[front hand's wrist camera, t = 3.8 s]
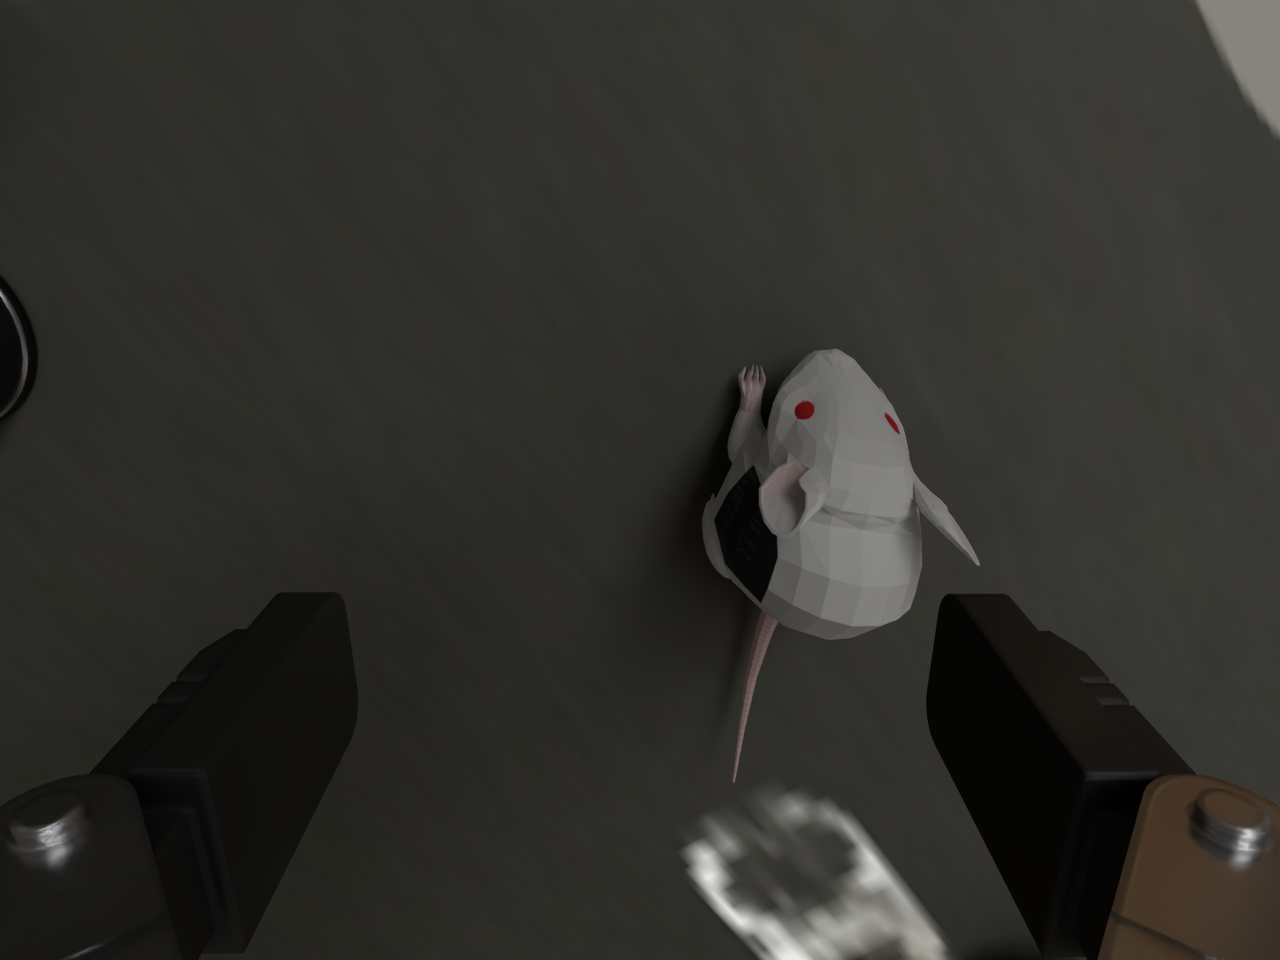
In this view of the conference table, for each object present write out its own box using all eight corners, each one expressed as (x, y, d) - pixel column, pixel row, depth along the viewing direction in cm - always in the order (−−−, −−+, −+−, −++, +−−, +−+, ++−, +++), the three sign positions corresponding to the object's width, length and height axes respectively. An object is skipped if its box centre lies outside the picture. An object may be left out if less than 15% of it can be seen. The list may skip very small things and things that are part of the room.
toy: (911, 348, 40) (1058, 447, 26) (802, 746, 48) (869, 985, 34) (728, 319, 40) (777, 405, 25) (650, 727, 48) (655, 961, 34)
